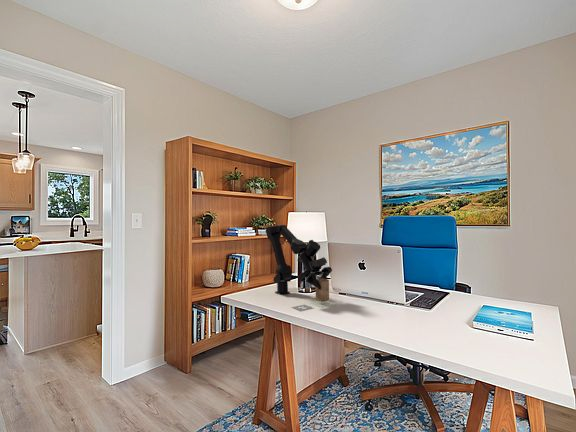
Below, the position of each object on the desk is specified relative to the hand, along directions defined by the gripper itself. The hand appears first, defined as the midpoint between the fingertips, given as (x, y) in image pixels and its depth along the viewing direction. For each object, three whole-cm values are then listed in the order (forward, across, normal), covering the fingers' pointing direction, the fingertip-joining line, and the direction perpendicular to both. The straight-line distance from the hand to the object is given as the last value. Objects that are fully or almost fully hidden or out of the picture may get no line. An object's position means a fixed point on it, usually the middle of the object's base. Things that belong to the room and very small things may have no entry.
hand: (324, 288), depth 150 cm
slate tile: (+4, -12, +8) cm, 15 cm away
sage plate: (+5, 0, +7) cm, 8 cm away
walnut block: (+3, 0, +5) cm, 6 cm away
